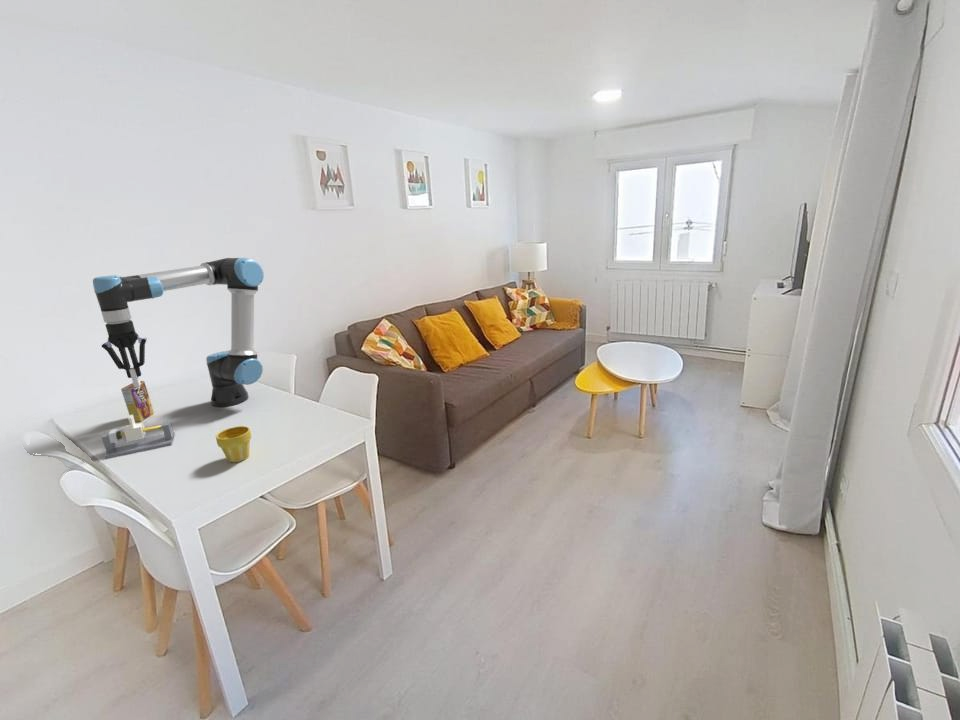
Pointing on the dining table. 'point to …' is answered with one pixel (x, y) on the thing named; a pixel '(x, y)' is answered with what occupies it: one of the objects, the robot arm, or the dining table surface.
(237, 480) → the dining table surface
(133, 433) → the cream slider carriage
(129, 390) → the candy box
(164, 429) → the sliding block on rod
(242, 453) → the plant pot
